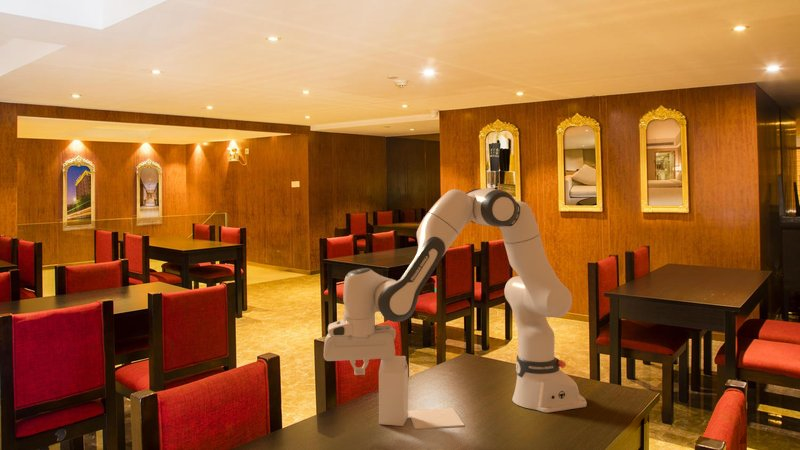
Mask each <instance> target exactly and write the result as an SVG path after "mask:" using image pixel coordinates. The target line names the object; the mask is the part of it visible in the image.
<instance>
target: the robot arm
mask: <svg viewBox="0 0 800 450" xmlns="http://www.w3.org/2000/svg"><path fill="white" fill-rule="evenodd" d="M470 222H471V223H474V224H477V225H480V226H484V227H485V226H487V227H489V226H490V227H494V228H495V227H497V228H499V229H500V232H501V234H502V239H503V244H504V247H505V250H506V254H507V258H508V261H509V265H510V267H511V268H512V269H513V270H514V271H515V272H516V274H517V275H516V276H513V277H511V278H509V279H508V280H507V282H506V284H505V287H504V289H503V290H504V293H503V294H504V297H505V300H506V301H507V302H508V304H509V306H510V308H511V310H512V314H513V318H514V321H515V324H516V330H517V356H516V361H515V362H516V363H515V371H516V382H515V388H514V393H513V396H512V402H513V403H514V404H516V405H517V406H520V407H522V408H527V409H530V410H536V411H539V412H542V413H553V412H560V411H561V412H562V411H567V410H573V409H580V408H586V407H587V404H588V403H587V400H586V398H585V397H584V396H582V394H580V391H579V387H578V384H577V383H576V382H575V380H574V379H573V378H572V377H570V376H569V375H568V374H567V373H565V372H564V371H563V370H562V369H563V368H565V367H566V366H567V363H566V362H565V361H564V360H562V359H559V358H558V357H556V356H555V339H556V338H555V332H554V330H553V328H552V327H551V326H550V324H549V322H548V320H547V318H561V317H563V316H566V314H568V312H569V311H570V309H571V307H572V305H573V296H572V292H571V291H570V289H568V287H567V286H565V284H563V282H562V281H561V280H560V278H559V277H558V276H557V274H556V272H555V271H554V269H553V267H552V265H551V264H550V262H549V260H548V257H547V255H546V251H545V247H544V245H543V241H542V237H541V232H540V229H539V225H538V222H537V220H536V217H535V215H534V213H533V210H532V208H531V206H530V205H529V204H528V203H526V202H524V201H519V200H516V199H515V198H514V197H513V195H511V194H510V193H509V192H508V191H505V190H503V189H495V188H492V187H485V188H475V189H471V190H469V191H468V192H465V191H462V190H460V189H454V188H453V189H450V190H448V191H447V192H446V193H444V194H443V195H442V196H441V197H440V198H439V199H438V200H437V201H436V202H435V203H434V204H433V205H432V207H431V208H430V209H429V210H428V212H427V213H426V214H425V216H423V218H422V220H421V222H420V224H419V226H418V228H417V231H416V240H417V245H418V246H417V250H416V254H415V256H414V258H413V260H411V263H410V264H409V265H408V267H407V269H406V270H405V272H404V273H403V274H402V276H401V277H400V279H398V280H396V279H393V278H390V277H389V278H388V277H386V276H383V275H380V274H379V273H377V272H375V271H374V270H372V269H371V268H368V267H365V268H357V269H354V270H351V271H349V272H348V273H347V274H346V275H345V278H344V282H343V294H342V295H343V296H342V298H343V300H342V302H343V304H344V305H343V306H344V312H343V319H339V320H337V321H334V322H332V323H329V324H328V326H327V334H326V336H325V338H324V342H323V343H324V344H323V358H324V360H325V361H326V362H335V361H340V362H341V361H349V362H350V365H351V366H352V368H353V370H354V371H353V373H354V375H355V376H359V375H361V376H363V375H364V376H365V374H366V369H367V367H368V365H369V360H377V359H380V360H381V359H382V358H393V357H394V356H396V348H395V347H396V346H395V339H396V337H397V336H396V335H397V333H396V332H397V331H396V329H395V328H394V326H392V325H390V324H386V325H378V324H377V325H376V320H375V319H376V317H375V316H376V313H379V312H380V313H381V316H383V318H385V319H386V320H387V321H390V322H392V323H399V322H403V321H406V320H408V319H409V318H410V317H411V316H412V315H413V314H414V312H415V310H416V307H417V303H418V300H419V296H420V293H421V292H422V290H423V288H424V286H425V285H426V283H427V282H428V280H429V279H430V277H431V275H433V273H434V271H435V269H436V268H437V266H438V265H439V264H440V262H441V260H442V258H443V257H444V255H446V252H447V251H448V250H449V248H450V247H451V246H452V244H453V243H454V242H455V240H457V237H458V236H459V235H460V234H461V232H462V230H463V229H464V228H465V226H467V225H468V224H469V223H470ZM359 360H360V361H361V360H362V362H363V365H362V366H360V367H358V366H356V361H359ZM560 368H561V369H560Z"/></svg>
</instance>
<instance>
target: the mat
mask: <svg viewBox="0 0 800 450" xmlns="http://www.w3.org/2000/svg"><path fill="white" fill-rule="evenodd" d="M408 417H409V418H410V420H411V424H412V425H413V428H414V429H415V430H427V429H428V430H429V429H437V428H438V429H441V428H443V429H444V428H457V427H458V428H459V427H465V424H464V422H463V421H462V419H461V418H460V416H459V415H458V413H457V411H456V410H455V409H454V407H446V408H432V409H431V408H430V409H414V410H413V409H411V410H409V409H408Z"/></svg>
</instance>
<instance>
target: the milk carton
mask: <svg viewBox="0 0 800 450" xmlns="http://www.w3.org/2000/svg"><path fill="white" fill-rule="evenodd" d="M408 411H409V365H408V363H407V356H405V355H394V357H393V358H382V359H380V364H379V369H378V424H379V425H387V426H399V427H400V426H401V427H404V426H405V423H406V421H407V419H408V418H409V414H408Z"/></svg>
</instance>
